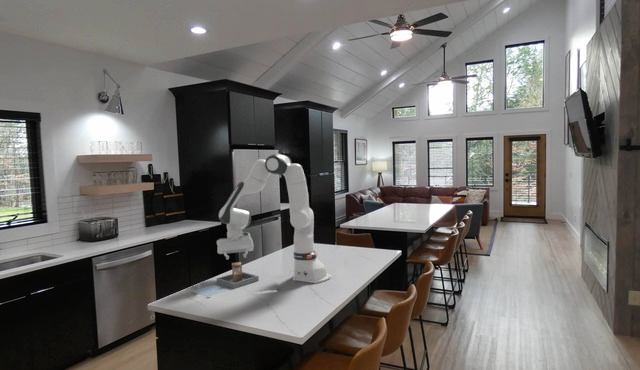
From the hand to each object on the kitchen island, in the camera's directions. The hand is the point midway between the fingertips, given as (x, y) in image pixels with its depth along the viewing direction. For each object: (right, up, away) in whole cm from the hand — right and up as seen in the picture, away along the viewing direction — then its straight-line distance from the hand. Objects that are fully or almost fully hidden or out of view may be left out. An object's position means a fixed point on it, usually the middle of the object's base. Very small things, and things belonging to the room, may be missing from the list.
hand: (236, 258), depth 215 cm
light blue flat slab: (-9, -14, -18) cm, 25 cm away
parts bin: (+2, -13, -6) cm, 14 cm away
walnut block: (+2, -12, -6) cm, 13 cm away
